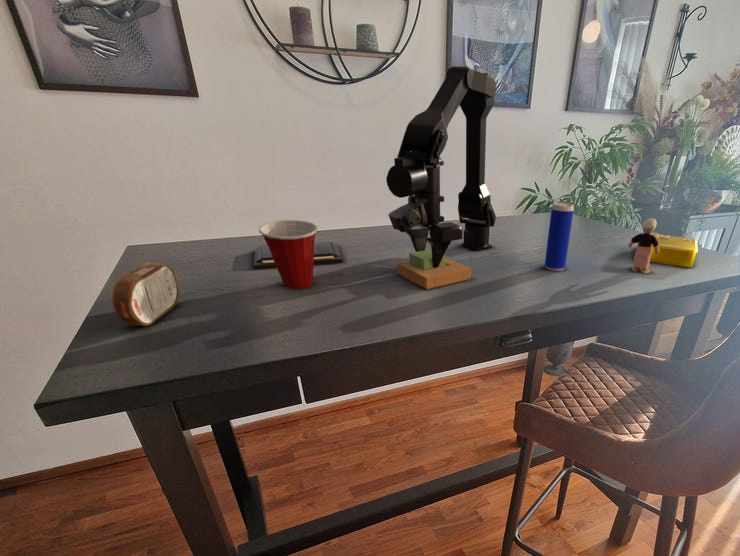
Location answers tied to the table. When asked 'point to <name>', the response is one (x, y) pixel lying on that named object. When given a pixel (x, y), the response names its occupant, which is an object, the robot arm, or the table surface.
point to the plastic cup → (292, 250)
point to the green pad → (424, 260)
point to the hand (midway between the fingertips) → (428, 263)
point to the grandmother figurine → (644, 246)
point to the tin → (145, 294)
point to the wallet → (322, 254)
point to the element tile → (674, 250)
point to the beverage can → (559, 236)
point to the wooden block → (435, 274)
